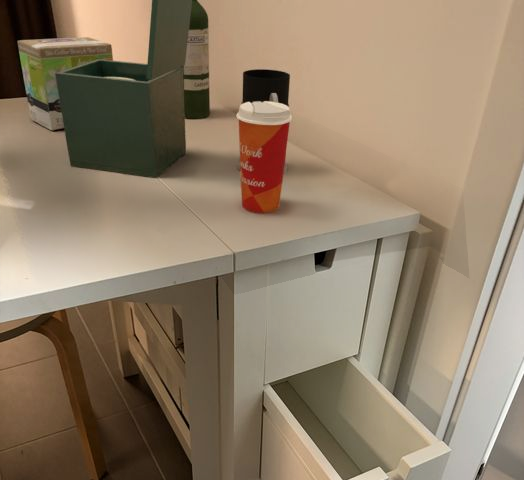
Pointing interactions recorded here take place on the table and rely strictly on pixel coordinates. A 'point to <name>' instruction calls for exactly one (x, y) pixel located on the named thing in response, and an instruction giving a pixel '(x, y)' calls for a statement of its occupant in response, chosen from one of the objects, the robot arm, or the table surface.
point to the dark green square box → (122, 117)
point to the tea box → (47, 64)
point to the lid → (168, 36)
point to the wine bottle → (197, 65)
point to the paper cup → (262, 153)
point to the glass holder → (266, 88)
